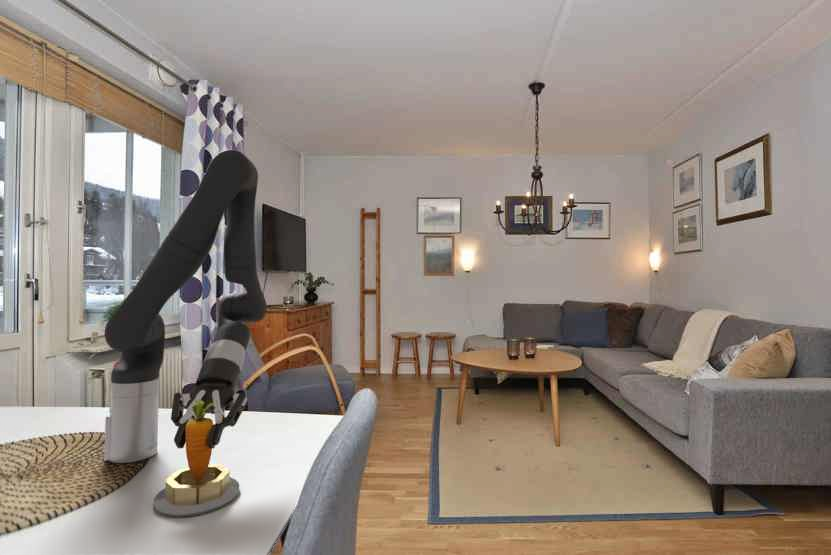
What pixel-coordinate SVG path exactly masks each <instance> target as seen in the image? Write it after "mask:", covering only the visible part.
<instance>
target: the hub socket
mask: <svg viewBox="0 0 831 555" xmlns="http://www.w3.org/2000/svg"><path fill="white" fill-rule="evenodd" d="M230 475H231V474H230V468H229V469H228V468H227V467H225V466H224V465H223V464H219V463H218V464H215V463H214V464H213V463H211V464H210V463H209V465H208V468H207V470H206V472H205V474H204V476H203V478H202V479H201V480H200V481H199V482H197V481H196V480H195V479H194V477H193V475H192V474H191V471H190V469H189V467H186V468H182V469H178V470H177V471H175V472H173V473H172V474H171V475H170V476H169V477H167V478H166V479H165V484H164V485H165V486H164V488H163V489H161V490H160V491H159V492H158V493H156V495H155V496H154V498H153V511H154V512H155V513H156V514H157V515H159V516H162V517H166V518H173V519H175V518H176V519H177V518H178V519H181V518H183V519H184V518H192V517H193V518H194V517H198V516H202V515H207V514H210V513H213V512H215V511H218V510H220V509H223V508H224V507H226V506H228V505H229V504H231V503H232V502H234V501H235V500H236V499H237V497H238V496H239V494H240V484H239V482H238V480H237V479H235V478H233V477H230Z"/></svg>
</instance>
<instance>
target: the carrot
mask: <svg viewBox="0 0 831 555" xmlns="http://www.w3.org/2000/svg"><path fill="white" fill-rule="evenodd" d="M203 405H204V402H203V401H201V400H198V401H197V407H196V404H193V405H192V409H193V412H194V414H195V416H196V419H193V420H191V421H189V422H188V423H187V424H186V442H185V453H186V454H185V455H186V460H187V464H188V468H189V469H190V471H191V474H192V475H193V477H194V479H195V480H196V481H197V482H199V481H200V480H201V479H202V478H203V476H204V474H205V472H206V470H207V468H208V465H209V464H210V461H211V456H212V451H213V448H209V447H208V445H207V442H208V439H209V436H210V433H211V430H212V426H213V424H214V421H213V419H211V418H208V417H205V415H206V414H207V413H206V412H207V410H208V409H209V408H210V407H212V406H213V405H214V404H213V403H210V404H209V405H207V406H206V408H205V409H202V408H203ZM201 410H202V412H201ZM205 413H206V414H205Z"/></svg>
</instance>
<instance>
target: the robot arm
mask: <svg viewBox="0 0 831 555" xmlns="http://www.w3.org/2000/svg"><path fill="white" fill-rule="evenodd" d="M258 179H259V173H258V170H257V167H256V166H255V164H254V163H253V161H251V160H250V159H249V158H248V157H247V156H246V155H245V154H244V153H242V152H241V151H239V150H237V149H232V148H231V149H225V150H222V151H219V152H218V153H217V154H216V155H214V157H213V158H212V159H211V161H210V162H209V164H208V167H207V169H206V171H205V172H204V175H203V177H202V179H201V181H200V182H199V185H198V187H197V189H196V191H195V193H194V194H193V196H192V198H191V199H190V201H189V202H188V204H187V205H186V207H185V208H184V210H183V211H182V213H180V216H179V218H178V219H177V220H176V222H175V223H174V225H173V226H172V228H171V229H170V230H169V232H168V233H167V235H166V237H165V238H164V240H163V241H162V243H161V244H160V246H159V247H158V249H157V250H156V253H155V254H154V256H153V257H152V259H151V261H150V262H149V264H148V266H146V268H145V270H144V271H143V273H142V275H141V277H140V278H139V279H138V282H137V283H136V284H135V285H134V287H133V289H132V290H131V291H130V292H129V294H128V295H127V296H126V297H125V299H124V300H123V301H122V302H121V304H120V305H119V306H118V307H117V309H116V310H115V311H114V313H112V314H111V316H110V317H109V319H108V321H107V322H106V325H105V327H104V328H105V329H104V339H105V342H106V344H107V345H108V347H109V348H111V349H112V350H114V351H116V352H121V356H120V358H119V359H120V360H119V359H118V360H119V362H118V363H117V365H116V366H115V367H114V366H113V368H112V370H111V373H110V381H111V382H110V406H109V411H110V412H109V415H107V416H106V417H105V420H104V422H105V423H104V424H105V425H104V453H103V454H104V456H103V457H104V460H103V461H109V462H111V463H115V464H124V463H125V464H126V463H134V462H138V461H144V460H145V459H146V460H147V459H149V458H151V457H153V456H155V455H156V454H157V453H158V439H159V438H158V437H159V435H158V432H159V401H160V400H159V398H160V397H159V395H160V391H159V390H160V388H159V387H160V370H161V368H162V365H163V363H164V357H165V356H164V354H165V353H164V352H165V340H166V338H165V337H166V328H165V327H166V326H165V322H164V319H163V317H162V315H160V313H161V311H162V309H163V308H164V306H165V304H166V303H167V302H168V301H169V300H170V299H171V297H172V296H173V295H175V294H176V293H177V292H178V291H179V290H180V289H181V288H182V287H183V286H184V285H186V284H187V282H189V281H190V280H191V279H192V278H193V277H194V275H195V274H196V273H197V272H198V270H199V269H200V268H201V266H202V264H203V263H204V262H205V260H206V258H207V257H208V255H209V254H210V252H211V250H212V248H213V247H214V246H213V245H214V243H215V240H216V237H217V234H218V230H219V228H220V224H221V220H222V217H223V215H224V214H225V211H226V210H227V216H226V220H227V221H226V228H225V235H224V239H223V240H224V242H223V264H224V265H223V266H224V278H225V280H226V281H227V282H229V283H233V284H238V285H241V286H243V287H244V289H245V291H246V292H235V293H233V292H232V293H228V294H227V293H226V294H225V295H224V296H222V297H221V298H220V300H219V301H218V304H217V327H216V332H215V335H214V338H213V340H212V343H211V346H210V347H209V348H208V351H207V353H206V355H205V356H204V357H205V358H204V360H203V363H202V365H201V368H200V370H199V373H198V375H197V379H196V381H195V385H194V387H193V389H192V390H190V392H188V393H183V394H181V392H175V393H174V395H173V401H172V407H171V408H172V409H171V415H170V420H171V421H172V423H173V424H174V426H175V427H177V430H176V433H175V436H174V437H173V442H174V444H175V446H176V448H177V449H184V448H185V446H186V424H187V423H188V422H189V421H191V420H193V419H196V416H195V414H194V412H193V409H192V405H193V404H196V407H197V401H198V400H201V401H203V402H204V405H203V408H202V409H205V408H206V406H207V405H209V404H210V403H213V404H214V405H213V406H212V407H210V408H209V409H208V410H207V412H206V413H205V415H206V414H211V415H214V422H215V423H213V426H212V430H211V433H210V436H209V439H208V442H207V445H208V447H209V448H212V449H215V448H216V446H218V445H219V444H220V441H221V438H222V434H223V431H224V430H225V428H227V427H232V428H233V427H235V426H236V424H237V422H238V421H239V419H240V417H241V415H242V413H243V412H244V409H245V408H246V407H247V404H248V402H249V400H248V397H247V395H246V393H245V392H240V393H236V392H235V390H236V388H237V385H238V382H239V379H240V376H241V375H240V374H241V371H242V370H243V368H244V361H245V354H246V351H247V348H248V345H249V341H250V339H251V330H250V328H249V327H248V325H246V324H245V323H258V322H261V321H262V320H264V318H265V317H266V314H267V310H268V306H267V302H266V298H265V295H264V292H263V289H262V288H261V284H260V279H259V278H258V277H259V276H258V270H257V251H256V235H255V232H256V231H255V211H256V210H255V207H256V200H257V199H256V197H257V191H258ZM189 401H191V403H190V405H189V406H188V407H187V404H188V402H189ZM230 403H233V405H232V406H231V408H230V410H229V411H228V413H227V416H226V412H225V411H226V410H225V408H226V407H227V406H228V405H230ZM185 407H187V408H186V411H185V412H184V409H185ZM201 412H202V410H201Z"/></svg>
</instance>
